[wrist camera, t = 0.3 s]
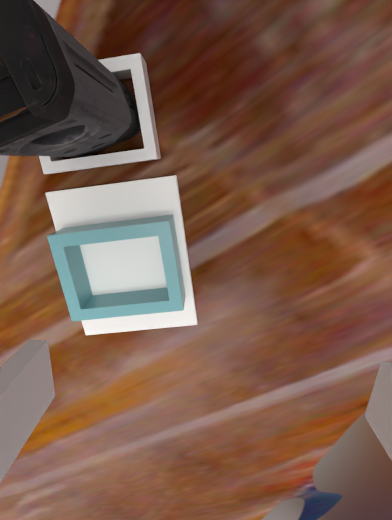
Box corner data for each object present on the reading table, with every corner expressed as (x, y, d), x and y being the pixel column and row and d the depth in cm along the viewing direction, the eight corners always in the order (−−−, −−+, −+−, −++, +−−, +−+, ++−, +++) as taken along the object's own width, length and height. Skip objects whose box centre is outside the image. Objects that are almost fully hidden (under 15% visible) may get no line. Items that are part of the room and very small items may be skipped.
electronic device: (75, 161, 35) (-77, 163, 16) (50, 109, 34) (-150, 45, 15) (146, 132, 34) (70, 97, 15) (124, 76, 32) (9, -42, 13)
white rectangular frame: (32, 80, 33) (15, 73, 30) (146, 62, 32) (140, 53, 29) (56, 173, 36) (43, 174, 33) (161, 158, 35) (157, 158, 32)
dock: (49, 191, 37) (26, 196, 32) (176, 175, 35) (172, 177, 31) (88, 331, 43) (73, 352, 38) (197, 320, 42) (196, 341, 37)
